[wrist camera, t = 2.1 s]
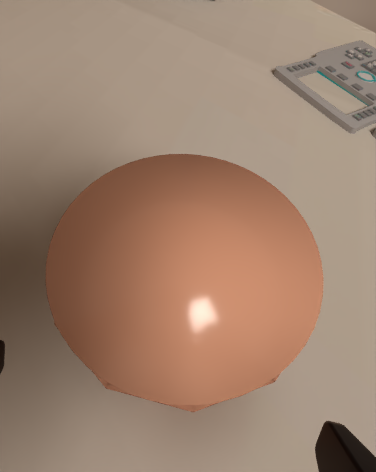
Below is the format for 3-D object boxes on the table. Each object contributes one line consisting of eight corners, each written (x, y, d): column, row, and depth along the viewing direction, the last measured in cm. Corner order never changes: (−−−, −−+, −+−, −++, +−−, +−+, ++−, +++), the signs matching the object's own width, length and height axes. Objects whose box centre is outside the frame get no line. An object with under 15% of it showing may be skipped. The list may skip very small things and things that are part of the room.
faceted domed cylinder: (176, 435, 15) (199, 510, 5) (95, 340, 18) (-13, 245, 7) (252, 336, 18) (368, 246, 8) (174, 267, 21) (183, 126, 10)
